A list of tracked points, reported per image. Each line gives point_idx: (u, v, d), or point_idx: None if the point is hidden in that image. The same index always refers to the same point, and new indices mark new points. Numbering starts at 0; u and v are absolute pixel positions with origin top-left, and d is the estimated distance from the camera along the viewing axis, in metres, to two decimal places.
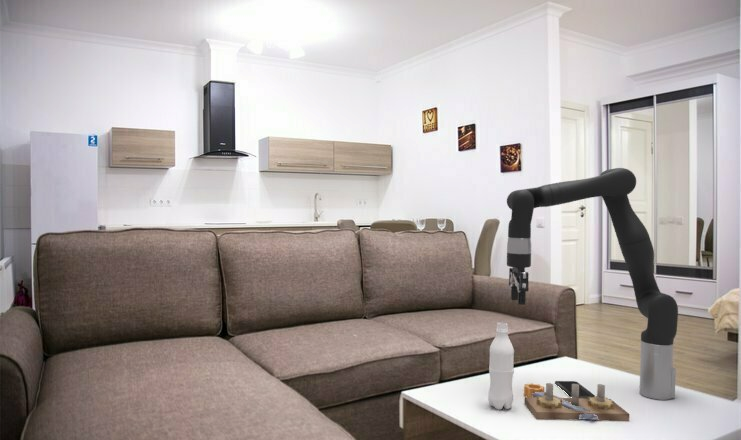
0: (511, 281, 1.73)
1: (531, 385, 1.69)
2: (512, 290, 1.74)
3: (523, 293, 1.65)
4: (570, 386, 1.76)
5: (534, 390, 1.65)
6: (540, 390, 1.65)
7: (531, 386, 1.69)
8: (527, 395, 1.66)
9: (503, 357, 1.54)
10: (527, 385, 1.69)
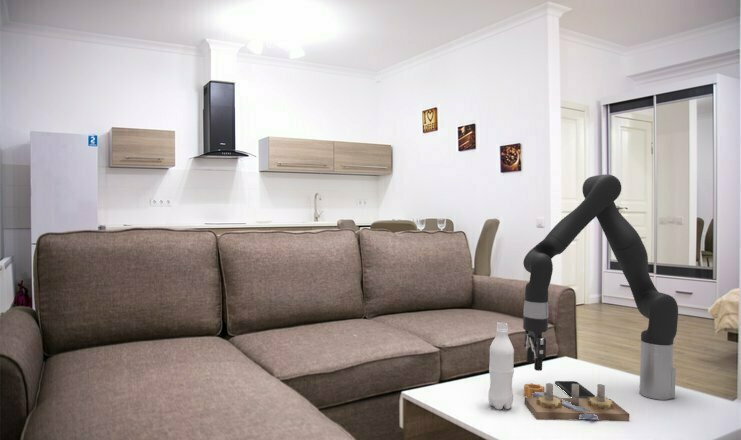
0: (527, 344, 1.70)
1: (531, 385, 1.69)
2: (528, 352, 1.71)
3: (540, 359, 1.62)
4: (570, 386, 1.76)
5: (534, 390, 1.65)
6: (540, 390, 1.65)
7: (531, 386, 1.69)
8: (527, 395, 1.66)
9: (503, 357, 1.54)
10: (527, 385, 1.69)
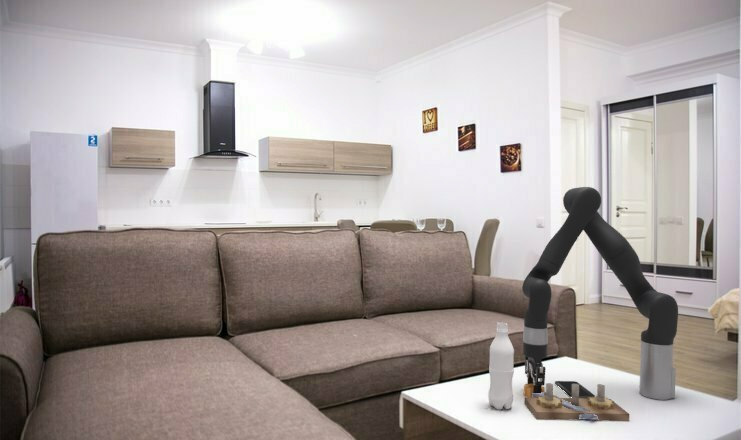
0: (527, 370, 1.70)
1: (531, 385, 1.69)
2: (529, 380, 1.71)
3: (539, 386, 1.63)
4: (570, 386, 1.76)
5: None
6: None
7: (531, 386, 1.69)
8: (527, 395, 1.66)
9: (503, 357, 1.54)
10: (527, 385, 1.69)
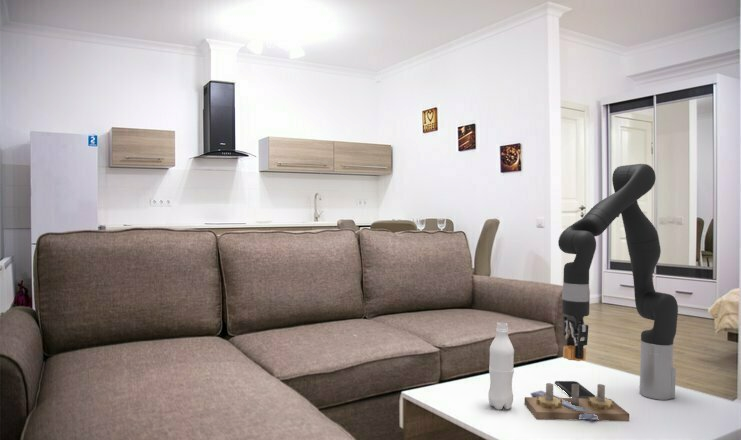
0: (567, 331, 1.57)
1: (571, 347, 1.57)
2: (568, 342, 1.58)
3: (581, 347, 1.50)
4: (570, 386, 1.76)
5: None
6: None
7: (571, 348, 1.57)
8: (567, 357, 1.54)
9: (503, 357, 1.54)
10: (567, 347, 1.56)
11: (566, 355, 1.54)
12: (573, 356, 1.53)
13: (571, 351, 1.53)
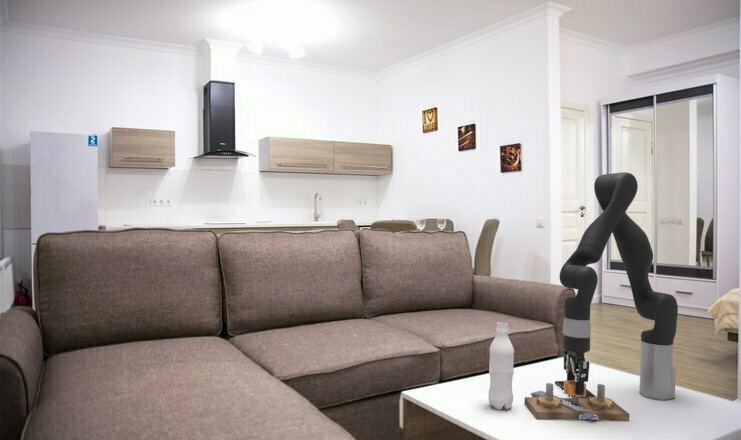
0: (567, 365, 1.56)
1: (571, 382, 1.56)
2: (568, 376, 1.57)
3: (582, 383, 1.50)
4: None
5: None
6: None
7: (571, 383, 1.56)
8: (567, 392, 1.53)
9: (503, 357, 1.54)
10: (567, 382, 1.55)
11: (566, 390, 1.54)
12: (574, 392, 1.52)
13: (572, 387, 1.52)
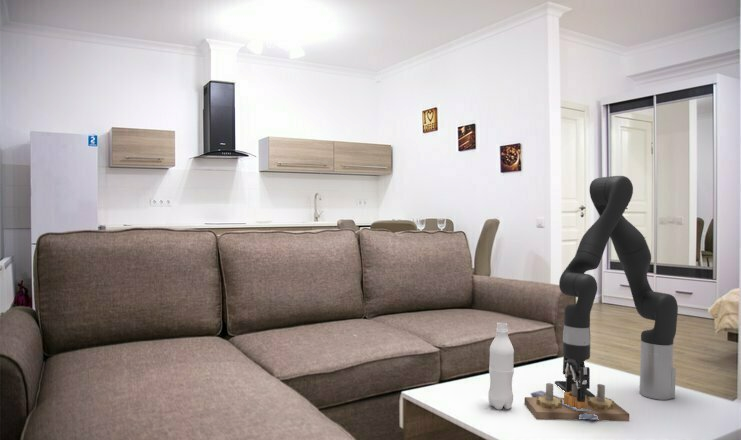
0: (567, 372, 1.57)
1: (571, 393, 1.56)
2: (567, 381, 1.58)
3: (583, 390, 1.49)
4: None
5: (576, 399, 1.52)
6: None
7: (571, 394, 1.56)
8: (568, 404, 1.53)
9: (503, 357, 1.54)
10: (567, 393, 1.56)
11: (567, 402, 1.54)
12: (574, 404, 1.52)
13: (572, 399, 1.52)
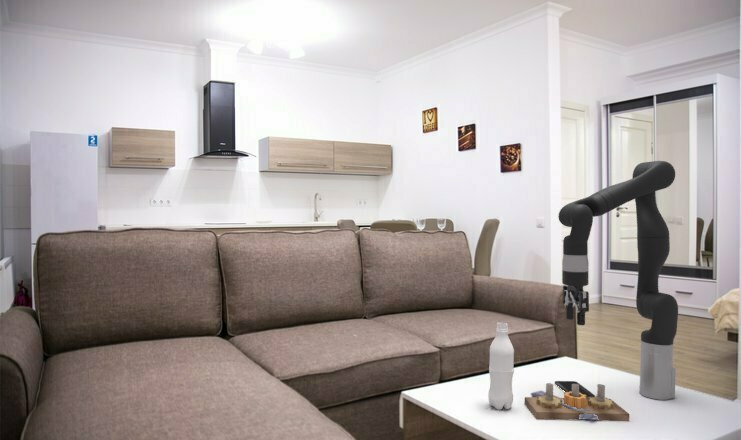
0: (567, 300, 1.65)
1: (571, 393, 1.56)
2: (567, 309, 1.66)
3: (583, 313, 1.57)
4: (570, 386, 1.76)
5: (576, 399, 1.52)
6: (582, 399, 1.52)
7: (571, 394, 1.56)
8: (568, 404, 1.53)
9: (503, 357, 1.54)
10: (567, 393, 1.56)
11: (567, 402, 1.54)
12: (574, 404, 1.52)
13: (572, 399, 1.52)
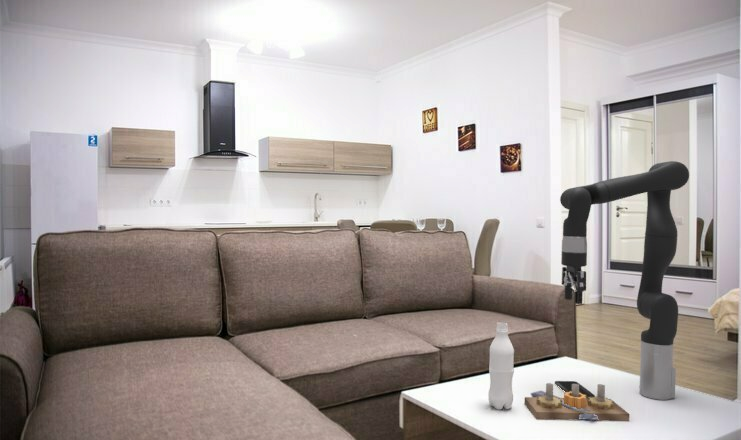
0: (565, 280, 1.71)
1: (571, 393, 1.56)
2: (566, 289, 1.72)
3: (580, 292, 1.63)
4: (570, 386, 1.76)
5: (576, 399, 1.52)
6: (582, 399, 1.52)
7: (571, 394, 1.56)
8: (568, 404, 1.53)
9: (503, 357, 1.54)
10: (567, 393, 1.56)
11: (567, 402, 1.54)
12: (574, 404, 1.52)
13: (572, 399, 1.52)
